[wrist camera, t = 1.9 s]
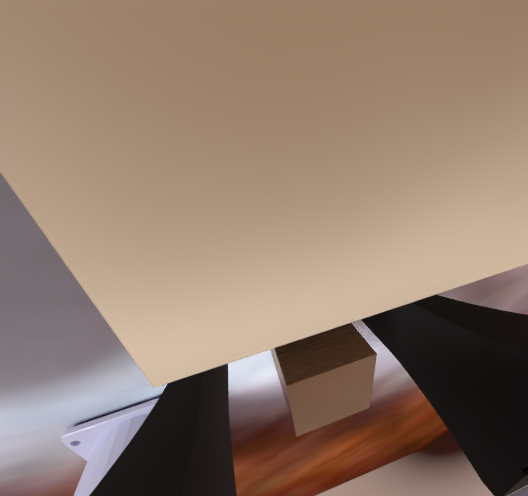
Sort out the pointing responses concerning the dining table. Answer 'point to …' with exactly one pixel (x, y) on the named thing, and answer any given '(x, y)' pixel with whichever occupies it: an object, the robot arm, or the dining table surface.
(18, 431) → the dining table surface
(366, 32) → the tan slab
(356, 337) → the wood grain brick
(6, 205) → the dining table surface
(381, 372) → the dining table surface
